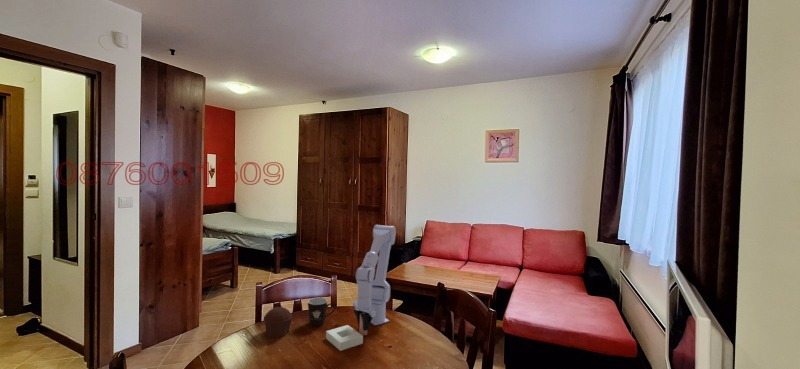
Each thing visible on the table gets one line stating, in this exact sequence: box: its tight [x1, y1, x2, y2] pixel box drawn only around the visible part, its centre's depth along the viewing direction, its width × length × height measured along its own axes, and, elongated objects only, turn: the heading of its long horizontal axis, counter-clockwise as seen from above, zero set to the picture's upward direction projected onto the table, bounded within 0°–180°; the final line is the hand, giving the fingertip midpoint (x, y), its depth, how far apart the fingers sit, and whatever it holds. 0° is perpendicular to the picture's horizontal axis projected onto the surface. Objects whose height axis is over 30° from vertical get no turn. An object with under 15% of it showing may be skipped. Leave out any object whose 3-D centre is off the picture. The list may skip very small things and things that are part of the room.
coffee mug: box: [307, 297, 336, 327], centre depth 145 cm, size 12×9×10 cm
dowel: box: [358, 313, 368, 336], centre depth 136 cm, size 3×3×8 cm
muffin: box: [263, 306, 293, 338], centre depth 135 cm, size 12×11×10 cm
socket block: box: [325, 324, 364, 352], centre depth 130 cm, size 12×10×3 cm
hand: (363, 328), depth 136 cm, fingers closed on dowel, 3 cm apart
